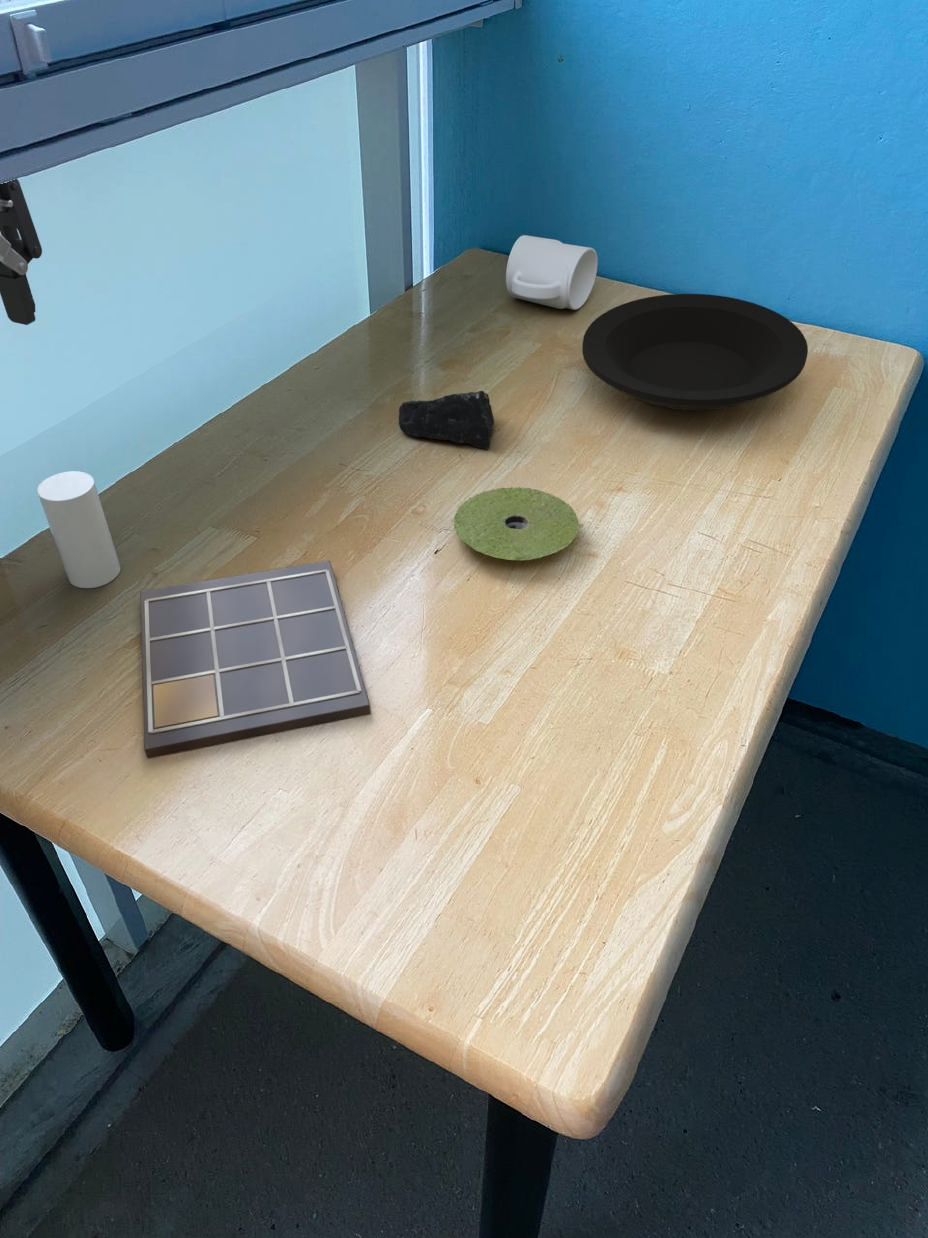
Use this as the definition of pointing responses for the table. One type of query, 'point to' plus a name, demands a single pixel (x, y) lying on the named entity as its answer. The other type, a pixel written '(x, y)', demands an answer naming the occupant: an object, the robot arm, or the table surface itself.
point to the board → (246, 658)
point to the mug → (551, 272)
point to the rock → (450, 418)
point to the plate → (694, 350)
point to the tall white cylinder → (79, 528)
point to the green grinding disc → (516, 523)
